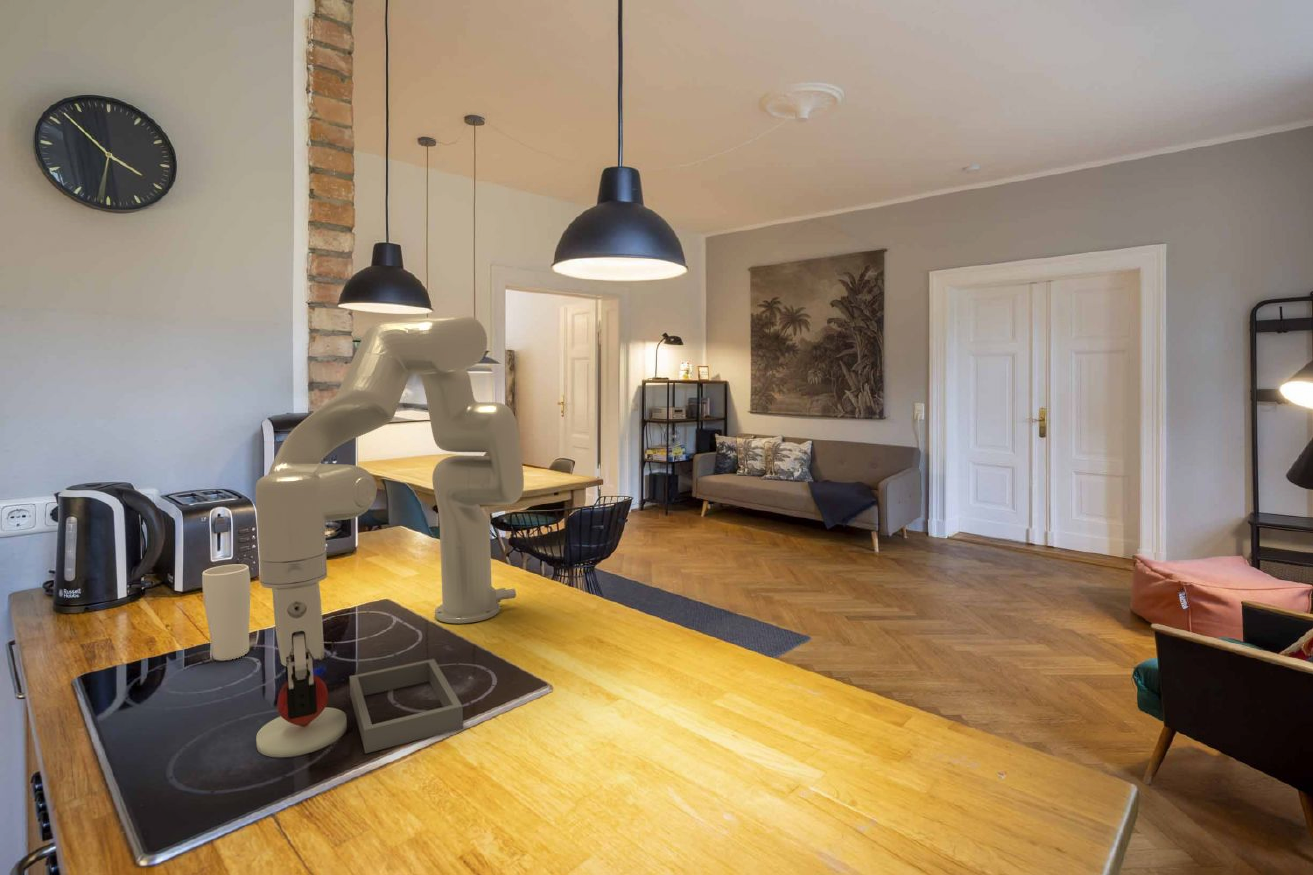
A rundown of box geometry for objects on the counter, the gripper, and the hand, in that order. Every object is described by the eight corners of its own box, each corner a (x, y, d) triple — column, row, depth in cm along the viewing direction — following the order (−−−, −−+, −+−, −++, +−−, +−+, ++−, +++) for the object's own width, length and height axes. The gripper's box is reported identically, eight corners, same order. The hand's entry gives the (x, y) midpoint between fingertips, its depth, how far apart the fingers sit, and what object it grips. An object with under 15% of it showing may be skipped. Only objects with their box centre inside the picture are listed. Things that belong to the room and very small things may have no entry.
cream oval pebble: (343, 708, 94) (342, 700, 94) (350, 742, 85) (350, 733, 85) (257, 728, 89) (256, 719, 89) (255, 766, 80) (255, 756, 80)
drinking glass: (231, 665, 110) (226, 575, 109) (197, 662, 111) (191, 573, 110) (263, 649, 116) (258, 564, 115) (230, 646, 118) (225, 563, 117)
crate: (434, 677, 104) (433, 658, 104) (463, 727, 89) (462, 706, 88) (350, 695, 98) (349, 676, 98) (365, 753, 83) (364, 730, 83)
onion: (277, 742, 83) (275, 681, 82) (278, 720, 88) (276, 662, 87) (329, 731, 86) (328, 672, 85) (327, 710, 91) (326, 654, 90)
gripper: (331, 581, 80) (339, 724, 81) (322, 550, 95) (328, 672, 96) (258, 591, 76) (268, 741, 78) (260, 558, 91) (268, 684, 93)
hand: (301, 702), depth 87 cm, fingers open, 6 cm apart
